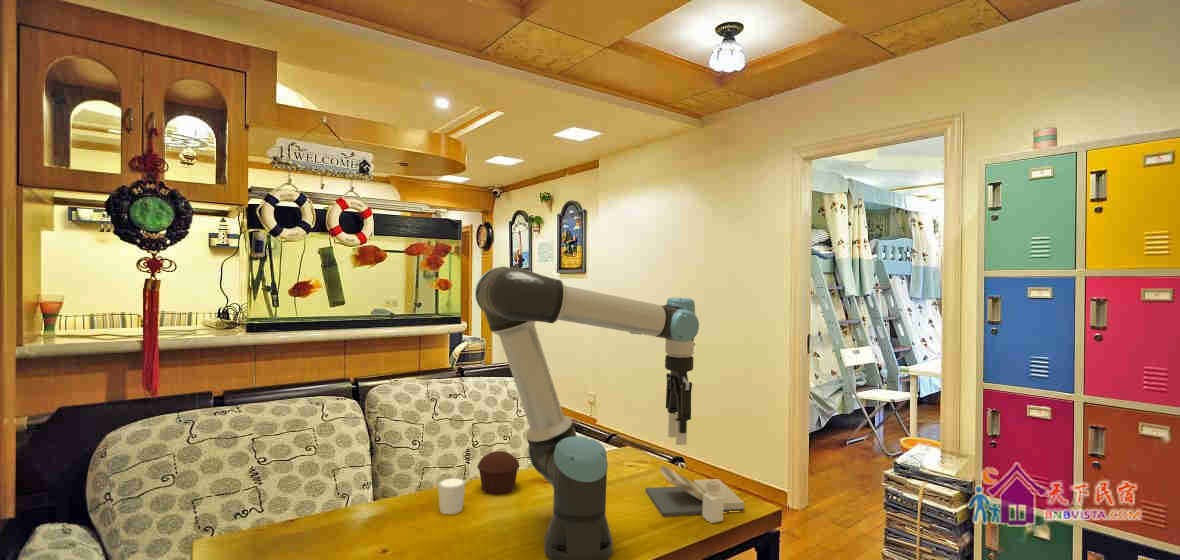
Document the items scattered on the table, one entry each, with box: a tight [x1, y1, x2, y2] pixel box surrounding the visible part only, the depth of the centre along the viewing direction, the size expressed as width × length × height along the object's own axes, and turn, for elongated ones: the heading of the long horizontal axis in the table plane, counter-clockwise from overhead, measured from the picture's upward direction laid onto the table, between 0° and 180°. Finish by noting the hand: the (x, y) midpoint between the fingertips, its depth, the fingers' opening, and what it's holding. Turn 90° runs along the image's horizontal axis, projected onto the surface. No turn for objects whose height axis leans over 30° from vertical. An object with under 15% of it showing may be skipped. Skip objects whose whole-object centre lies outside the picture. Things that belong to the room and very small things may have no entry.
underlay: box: [644, 478, 745, 518], centre depth 147 cm, size 22×16×3 cm
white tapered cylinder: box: [437, 477, 466, 515], centre depth 138 cm, size 7×7×7 cm
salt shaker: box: [702, 480, 724, 524], centre depth 136 cm, size 4×4×10 cm
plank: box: [659, 464, 705, 501], centre depth 146 cm, size 12×9×2 cm
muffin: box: [477, 451, 520, 496], centre depth 152 cm, size 12×11×10 cm
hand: (676, 440), depth 146 cm, fingers open, 6 cm apart
